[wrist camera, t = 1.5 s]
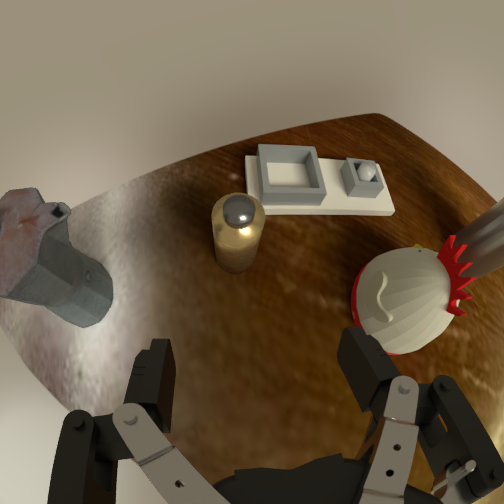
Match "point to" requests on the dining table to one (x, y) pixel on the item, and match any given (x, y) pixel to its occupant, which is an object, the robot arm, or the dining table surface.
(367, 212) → the white tray
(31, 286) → the moka pot
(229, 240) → the gold bottle
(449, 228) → the dining table surface
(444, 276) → the kitchen timer
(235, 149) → the dining table surface
